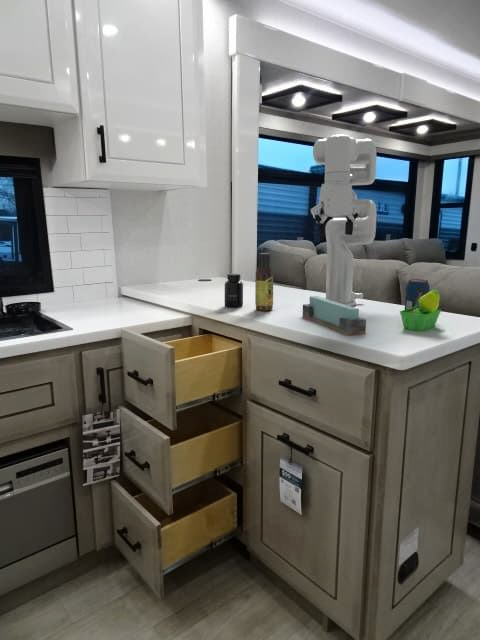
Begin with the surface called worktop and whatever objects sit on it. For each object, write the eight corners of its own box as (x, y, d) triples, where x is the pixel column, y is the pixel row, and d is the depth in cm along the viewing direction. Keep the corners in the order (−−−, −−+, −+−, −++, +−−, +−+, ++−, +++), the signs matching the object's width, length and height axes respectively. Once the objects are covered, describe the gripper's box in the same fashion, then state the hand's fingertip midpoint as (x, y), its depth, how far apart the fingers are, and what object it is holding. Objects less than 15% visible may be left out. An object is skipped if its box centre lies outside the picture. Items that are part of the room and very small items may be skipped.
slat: (309, 314, 145) (309, 296, 144) (315, 314, 146) (316, 296, 144) (350, 331, 123) (351, 309, 121) (357, 330, 123) (358, 308, 122)
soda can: (414, 314, 148) (417, 278, 145) (432, 318, 142) (435, 280, 139) (399, 316, 144) (401, 279, 142) (416, 320, 138) (419, 282, 136)
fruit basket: (415, 322, 136) (418, 285, 134) (445, 327, 130) (448, 288, 128) (397, 328, 129) (399, 289, 126) (427, 333, 122) (430, 293, 120)
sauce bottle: (271, 311, 154) (272, 253, 150) (253, 311, 156) (253, 253, 151) (274, 308, 161) (274, 252, 156) (257, 307, 162) (257, 252, 158)
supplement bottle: (229, 309, 160) (229, 275, 158) (221, 306, 166) (221, 273, 164) (246, 307, 163) (246, 274, 161) (237, 304, 169) (237, 272, 167)
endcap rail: (317, 315, 148) (318, 303, 147) (365, 333, 123) (366, 319, 122) (302, 316, 146) (302, 304, 145) (347, 335, 121) (348, 321, 120)
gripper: (354, 179, 143) (352, 233, 148) (306, 179, 138) (305, 236, 142) (368, 178, 137) (365, 234, 141) (318, 178, 131) (316, 237, 136)
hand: (335, 235), depth 142 cm, fingers open, 9 cm apart
